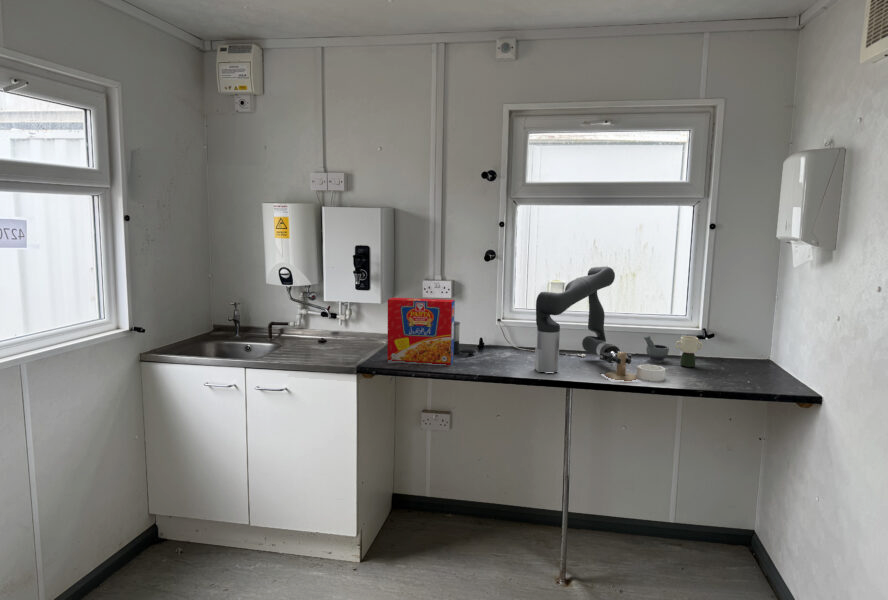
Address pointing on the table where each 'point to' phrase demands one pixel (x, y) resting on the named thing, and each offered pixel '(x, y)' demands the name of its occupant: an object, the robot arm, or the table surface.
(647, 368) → the bowl
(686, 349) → the character mug
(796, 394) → the table surface
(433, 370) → the table surface
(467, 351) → the milk frother
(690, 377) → the table surface
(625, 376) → the paper towel holder
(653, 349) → the mortar and pestle
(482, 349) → the table surface
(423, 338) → the pasta box
